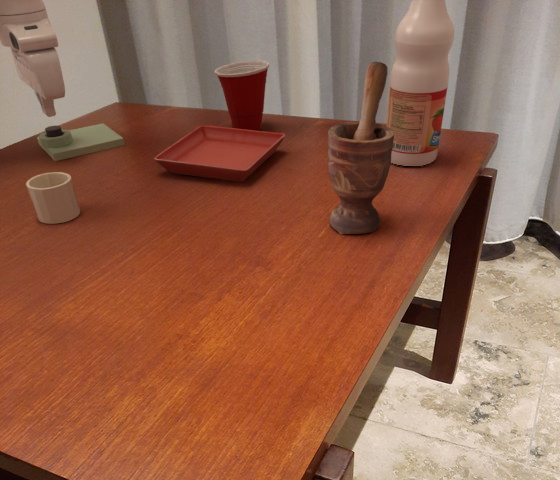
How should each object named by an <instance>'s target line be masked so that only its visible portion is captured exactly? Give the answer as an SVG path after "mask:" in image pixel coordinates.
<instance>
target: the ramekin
mask: <svg viewBox="0 0 560 480" xmlns="http://www.w3.org/2000/svg"><path fill="white" fill-rule="evenodd" d="M25 187H26V189H27V192H28V195H29V198H30V200H31V204H32V207H33V210H34V213H35V215H36V217H37V219H38V221H39V222H40V223H42V224H48V225H55V224H62V223H67V222H70V221H72V220H74V219H76V218H77V217H79V215H81V206H80V203H79V199H78V195H77V192H76V187H75V185H74V182H73V178H72V176H71V174H69V173H66V172H62V171H53V172H44V173H40V174H37V175H34V176H32V177H31V178H30V179H28V180H27V181H26V183H25Z"/></svg>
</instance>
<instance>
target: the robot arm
mask: <svg viewBox="0 0 560 480" xmlns="http://www.w3.org/2000/svg"><path fill="white" fill-rule="evenodd" d="M0 43H1V45H2V46H3V47H7V48H10V51H11V56H12V59H13V62H14V65H15V68H16V72H17V75H18V76H19V79H20V81H22V82H23V83H25V84H26V85H27V86H28V87H30V88H31V89H32V90H33V91H34V94H35V96H36V98H37V101H38V103H39V105H40V108H41V112H42V113H43V114H44V115H45V116H46V117H48V118H51V117H56V115H57V111H56V109H55V100H57V99H58V100H59V99H63V98H65V97H66V85H65V81H64V77H63V71H62V67H61V62H60V57H59V54H58V52H57V49H56V48H58V47H59V41H58V37H57V35H56V32H55V31H54V29H53V28H52V25H51V21H50V19H49V16H48V12H47V8H46V5H45V3H44V1H43V0H0Z"/></svg>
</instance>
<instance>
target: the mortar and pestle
mask: <svg viewBox="0 0 560 480" xmlns="http://www.w3.org/2000/svg"><path fill="white" fill-rule="evenodd" d="M387 78H388V66H387V65H386V63H384V62H381V61H372V62H370V63H368V67H367V69H366V71H365V76H364V82H363V91H362V102H361V103H362V104H361V111H360V119H359V121H349V122H345V123H337V124H336V125H333V126H331V127H330V128H329V129H328V131H327V167H328V171H327V172H328V177H329V181H330V185H331V188H332V191H333V192H334V193H335V194H336V196H337V197H338V198H339V199H340V203H339V205H336V206H335V207H334V208H333V210H332V211H331V213H330V216H329V220H328V221H329V225H330V226H331V227H332V228H333V230H335V231H336V232H338V233H339V234H340V235H357V234H358V235H361V234H368V233H373V232H375V231H376V230H377V229H379V227H380V225H381V222H382V221H381V218H380V215H379V211H378V210H377V209H376V207H375V206H374V205H373V201H374V199H375V198H376V197H377V196H379V194H380V193H381V192H382V190H383V189H384V187H385V184H386V181H387V179H388V176H389V172H390V168H391V164H392V163H391V154H392V148H393V140H394V134H393V133H394V132H393V130H391V129H390V128H389V127H386V125H383V124H380V123H376V121H377V120H376V117H377V115H378V109H379V106H380V101H381V99H382V97H383V94H384V91H385V87H386V83H387Z"/></svg>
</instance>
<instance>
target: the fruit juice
mask: <svg viewBox="0 0 560 480" xmlns="http://www.w3.org/2000/svg"><path fill="white" fill-rule="evenodd" d="M454 40H455V25H454V23H453V21H452V19H451V17H450V15H449V12H448V9H447V4H446V0H411V3H410V5H409V7H408V9H407V11H406V13H405V14H404V16H403V17H402V19H401V20H400V22H399V23H398V24H397V27H396V30H395V35H394V46H395V54H396V55H395V61H394V62H393V65H392V68H391V72H390V80H389V92H388V93H389V94H388V102H387V103H388V104H387V114H386V115H387V117H386V125H385V126H386V127H389V128H390V129H391V130H393V132H394V133H393V134H394V140H393V148H392V154H391V164H392V163H393V164H392V165H394V164H397V165H396V166H398V165H403V166H418V165H424V164H428V163H431V162H433V161H434V160H435V161H436V159H437V157H438V153H439V147H440V142H441V141H440V139H441V133H442V127H443V120H444V114H445V106H446V100H447V93H448V87H449V79H450V63H449V54H450V51H451V49H452V46H453V44H454ZM435 161H434V162H435ZM434 162H433V163H434ZM431 164H432V163H431ZM403 166H402V167H403Z"/></svg>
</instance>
